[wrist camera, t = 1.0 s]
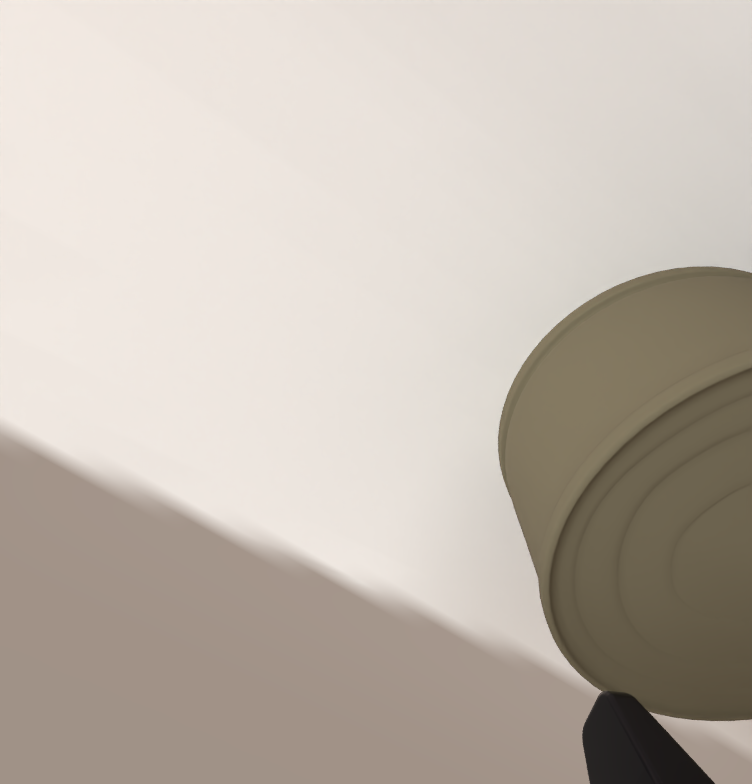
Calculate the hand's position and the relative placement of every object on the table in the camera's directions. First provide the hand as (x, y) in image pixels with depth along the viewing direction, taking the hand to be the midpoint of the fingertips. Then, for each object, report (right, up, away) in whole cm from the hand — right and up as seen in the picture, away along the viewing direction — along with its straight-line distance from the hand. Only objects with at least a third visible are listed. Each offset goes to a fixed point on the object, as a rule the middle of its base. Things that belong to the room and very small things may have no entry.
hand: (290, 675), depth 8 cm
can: (+11, +3, +13) cm, 17 cm away
